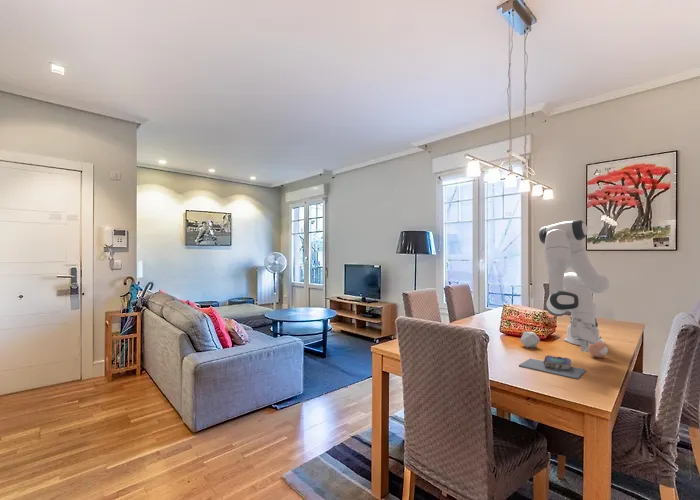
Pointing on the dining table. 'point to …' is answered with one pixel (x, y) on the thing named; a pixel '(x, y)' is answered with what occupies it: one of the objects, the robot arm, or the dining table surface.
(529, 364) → the mat
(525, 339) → the die
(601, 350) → the toy ball
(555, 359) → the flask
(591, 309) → the robot arm
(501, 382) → the dining table surface
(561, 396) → the dining table surface
